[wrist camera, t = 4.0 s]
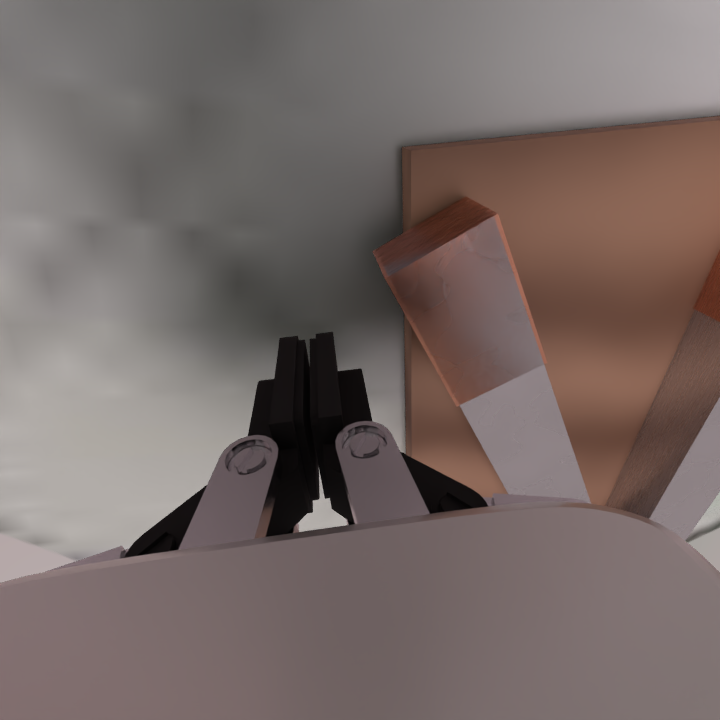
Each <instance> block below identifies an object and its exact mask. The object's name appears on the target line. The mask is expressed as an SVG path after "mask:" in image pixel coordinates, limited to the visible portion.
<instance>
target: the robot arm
mask: <svg viewBox="0 0 720 720" xmlns="http://www.w3.org/2000/svg"><path fill="white" fill-rule="evenodd" d="M319 470H320V475H321V480H322V485H323V491H324V496H325V498H330V501H331V506H332V509H333V510H334V511H336V512H337V513H339V514H340V515H341V516H343V517H344V518H346V520H347V525H346V526H339V527H332V528H325V529H318V530H311V531H304V532H299V524H298V522H299V521H300V520H301V519H302V518H303V517H304V516H305V515H306V514H307V513H312V512H313V500H318V499H319ZM0 720H720V572H719V571H718V570H717V569H716V568H715V567H714V566H713V565H712V564H711V563H710V562H708V561H707V560H706V559H705V558H704V557H703V556H702V555H701V554H700V553H699V552H698V551H697V550H695V549H694V548H693V547H692V546H691V545H690V544H689V543H687V542H686V541H685V540H683V539H682V538H681V537H680V536H678V535H677V534H676V533H674V532H672V531H671V530H669V529H668V528H666V527H665V526H663V525H661V524H659V523H657V522H655V521H653V520H651V519H649V518H646V517H643V516H640V515H637V514H634V513H631V512H628V511H624V510H621V509H616V508H611V507H606V506H601V505H596V504H589V503H587V502H585V501H582V500H578V499H573V498H559V497H544V496H529V495H513V494H498V493H493V495H492V498H490V497H482V496H481V495H480V494H479V493H477V492H476V491H474V490H473V489H471V488H469V487H467V486H465V485H464V484H462V483H460V482H458V481H456V480H454V479H452V478H450V477H448V476H446V475H444V474H442V473H440V472H438V471H436V470H435V469H433V468H431V467H429V466H427V465H425V464H423V463H421V462H419V461H417V460H415V459H413V458H411V457H409V456H408V455H406V454H404V453H402V452H400V450H399V448H398V446H397V444H396V442H395V440H394V438H393V436H392V434H391V433H390V431H389V430H388V429H387V428H386V427H385V426H383V425H382V424H379V423H376V422H372V418H371V413H370V408H369V403H368V398H367V393H366V388H365V383H364V378H363V374H362V369H353V370H345V371H338V370H337V362H336V354H335V345H334V337H333V332H328V333H320V334H316V338H315V339H310V366H309V360H308V355H307V349H306V343H305V340H299V339H298V336H293V337H285V338H280V340H279V348H278V356H277V364H276V371H275V379H271V380H262V381H259V382H258V385H257V390H256V396H255V401H254V406H253V412H252V417H251V422H250V428H249V433H248V436H247V437H244V438H241V439H238V440H237V441H235V442H233V443H232V444H230V445H229V446H228V447H227V448H226V449H225V450H224V451H223V453H222V454H221V456H220V458H219V460H218V462H217V464H216V467H215V469H214V471H213V473H212V476H211V478H210V480H209V482H208V485H206V486H205V487H204V488H202V489H201V490H200V491H199V492H197V493H196V494H195V495H193V496H192V497H191V498H190V499H188V500H187V501H186V502H184V503H183V504H182V505H180V506H179V507H178V508H177V509H175V510H174V511H173V512H171V513H170V514H169V515H168V516H166V517H165V518H164V519H162V520H161V521H160V522H158V523H157V524H156V525H155V526H153V527H152V528H151V529H149V530H148V531H147V532H146V533H144V534H143V535H142V536H141V537H140V538H139V539H138V540H136V541H135V542H134V543H133V545H132V546H131V547H130V548H129V549H126V550H125V549H124V548H123V547H122V546H120V547H117V548H114V549H111V550H108V551H105V552H102V553H99V554H96V555H93V556H90V557H87V558H84V559H81V560H78V561H76V562H73V563H70V564H67V565H64V566H61V567H58V568H55V569H52V570H49V571H46V572H43V573H39V574H33V575H28V576H24V577H21V578H17V579H13V580H9V581H5V582H2V583H0Z"/></svg>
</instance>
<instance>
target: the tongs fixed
mask: <svg viewBox="0 0 720 720" xmlns="http://www.w3.org/2000/svg"><path fill="white" fill-rule="evenodd" d="M693 309H695V310H694V313H693V315H692V317H691V319H690V321H689V324H688V326H687V328H686V330H685V332H684V335H683V337H682V339H681V341H680V343H679V345H678V348H677V350H676V352H675V354H674V356H673V359H672V361H671V363H670V365H669V367H668V370H667V372H666V374H665V376H664V378H663V380H662V383H661V385H660V387H659V389H658V391H657V394H656V396H655V398H654V400H653V402H652V405H651V407H650V409H649V411H648V413H647V415H646V418H645V420H644V422H643V424H642V426H641V429H640V431H639V433H638V435H637V437H636V440H635V442H634V444H633V446H632V448H631V450H630V453H629V455H628V457H627V459H626V461H625V464H624V466H623V468H622V470H621V472H620V475H619V477H618V479H617V481H616V483H615V485H614V488H613V490H612V492H611V494H610V496H609V499H608V501H607V503H606V505H605V506H606V507H611V508H616V509H621V510H624V511H628V512H631V513H634V514H637V515H640V516H643V517H646V518H649V519H651V520H653V521H655V522H657V523H659V524H661V525H663V526H665V527H666V528H668V529H669V530H671V531H672V532H674V533H676V534H677V535H678V536H680V537H681V538H682V539H683V540H686V539H687V537H688V536H689V534H690V533H691V532H692V530H693V529H694V527H695V526H696V524H697V523H698V522H699V520H700V519H701V517H702V516H703V515H704V513H705V512H706V510H707V509H708V507H709V506H710V505H711V503H712V502H713V500H714V499H715V497H716V496H717V495H718V493H719V492H720V250H719V252H718V254H717V257H716V259H715V261H714V263H713V265H712V268H711V270H710V272H709V274H708V276H707V279H706V281H705V283H704V285H703V287H702V290H701V292H700V294H699V296H698V299H697V301H696V303H695V305H694V307H693Z"/></svg>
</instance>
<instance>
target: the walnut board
mask: <svg viewBox="0 0 720 720" xmlns="http://www.w3.org/2000/svg"><path fill="white" fill-rule="evenodd" d="M402 190H403V233H404V232H406V231H408V230H409V229H411V228H413V227H414V226H416V225H418V224H419V223H421V222H423V221H424V220H426V219H428V218H429V217H431V216H433V215H435V214H436V213H438V212H440V211H441V210H443V209H445V208H446V207H448V206H450V205H451V204H453V203H455V202H456V201H458V200H460V199H461V198H463V197H465V196H466V197H468V198H470V199H472V200H474V201H476V202H478V203H479V204H481V205H483V206H485V207H487V208H489V209H491V210H492V211H494V212H496V213H498V215H499V218H500V221H501V224H502V227H503V230H504V233H505V236H506V239H507V242H508V245H509V248H510V251H511V254H512V257H513V260H514V263H515V266H516V269H517V272H518V275H519V279H520V282H521V285H522V288H523V291H524V294H525V297H526V300H527V303H528V306H529V309H530V312H531V315H532V318H533V321H534V324H535V327H536V330H537V333H538V336H539V339H540V342H541V345H542V348H543V351H544V354H545V357H546V360H547V363H546V364H544V365H545V368H546V371H547V374H548V377H549V380H550V383H551V386H552V389H553V392H554V395H555V398H556V401H557V404H558V407H559V410H560V413H561V416H562V419H563V422H564V425H565V428H566V431H567V433H568V436H569V439H570V442H571V445H572V448H573V451H574V454H575V457H576V460H577V463H578V466H579V469H580V472H581V475H582V478H583V481H584V484H585V487H586V490H587V493H588V496H589V499H590V502H591V504H596V505H601V506H605V505H606V503H607V501H608V499H609V496H610V494H611V492H612V490H613V488H614V485H615V483H616V481H617V479H618V477H619V475H620V472H621V470H622V468H623V466H624V464H625V461H626V459H627V457H628V455H629V453H630V450H631V448H632V446H633V444H634V442H635V440H636V437H637V435H638V433H639V431H640V429H641V426H642V424H643V422H644V420H645V418H646V415H647V413H648V411H649V409H650V407H651V405H652V402H653V400H654V398H655V396H656V394H657V391H658V389H659V387H660V385H661V383H662V380H663V378H664V376H665V374H666V372H667V370H668V367H669V365H670V363H671V361H672V359H673V356H674V354H675V352H676V350H677V348H678V345H679V343H680V341H681V339H682V337H683V335H684V332H685V330H686V328H687V326H688V324H689V321H690V319H691V317H692V315H693V313H694V310H695V309H693V307H694V305H695V303H696V301H697V299H698V296H699V294H700V292H701V290H702V287H703V285H704V283H705V281H706V279H707V276H708V274H709V272H710V270H711V268H712V265H713V263H714V261H715V259H716V257H717V254H718V252H719V250H720V116H713V117H703V118H692V119H682V120H672V121H662V122H652V123H642V124H631V125H621V126H611V127H601V128H591V129H580V130H570V131H560V132H550V133H540V134H529V135H519V136H509V137H499V138H489V139H479V140H468V141H458V142H448V143H438V144H428V145H417V146H407V147H402ZM404 340H405V415H406V455H408V456H409V457H411V458H413V459H415V460H417V461H419V462H421V463H423V464H425V465H427V466H429V467H431V468H433V469H435V470H436V471H438V472H440V473H442V474H444V475H446V476H448V477H450V478H452V479H454V480H456V481H458V482H460V483H462V484H464V485H465V486H467V487H469V488H471V489H473V490H474V491H476V492H477V493H479V494H480V495H481V496H482V497H490V498H492V495H493V493H498V494H508V493H507V491H506V489H505V487H504V485H503V483H502V482H501V480H500V478H499V476H498V474H497V473H496V471H495V469H494V467H493V465H492V464H491V462H490V460H489V458H488V456H487V454H486V453H485V451H484V449H483V447H482V445H481V444H480V442H479V440H478V438H477V436H476V435H475V433H474V431H473V429H472V427H471V425H470V424H469V422H468V420H467V418H466V416H465V415H464V413H463V411H462V409H461V407H460V405H459V406H457V407H456V405H455V403H454V401H453V400H452V398H451V396H450V394H449V392H448V391H447V389H446V387H445V385H444V383H443V382H442V380H441V378H440V376H439V375H438V373H437V371H436V369H435V367H434V366H433V364H432V362H431V360H430V358H429V357H428V355H427V353H426V351H425V349H424V348H423V346H422V344H421V342H420V341H419V339H418V337H417V335H416V333H415V332H414V330H413V328H412V326H411V324H410V323H409V321H408V319H407V317H406V316H405V314H404Z"/></svg>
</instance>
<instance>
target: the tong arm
mask: <svg viewBox="0 0 720 720" xmlns="http://www.w3.org/2000/svg"><path fill="white" fill-rule="evenodd" d="M373 254H374V256H375V258H376V260H377V262H378V265H379V267H380V269H381V271H382V273H383V276H384V278H385V280H386V282H387V283H388V285H389V287H390V289H391V291H392V292H393V294H394V296H395V298H396V299H397V301H398V303H399V305H400V307H401V308H402V310H403V312H404V314H405V316H406V317H407V319H408V321H409V323H410V324H411V326H412V328H413V330H414V332H415V333H416V335H417V337H418V339H419V341H420V342H421V344H422V346H423V348H424V349H425V351H426V353H427V355H428V357H429V358H430V360H431V362H432V364H433V366H434V367H435V369H436V371H437V373H438V375H439V376H440V378H441V380H442V382H443V383H444V385H445V387H446V389H447V391H448V392H449V394H450V396H451V398H452V400H453V401H454V403H455V405H456V407H457V406H459V405H460V407H461V409H462V411H463V413H464V415H465V416H466V418H467V420H468V422H469V424H470V425H471V427H472V429H473V431H474V433H475V435H476V436H477V438H478V440H479V442H480V444H481V445H482V447H483V449H484V451H485V453H486V454H487V456H488V458H489V460H490V462H491V464H492V465H493V467H494V469H495V471H496V473H497V474H498V476H499V478H500V480H501V482H502V483H503V485H504V487H505V489H506V491H507V493H508V494H513V495H529V496H544V497H559V498H573V499H578V500H582V501H585V502H587V503H589V504H591V502H590V499H589V496H588V493H587V490H586V487H585V484H584V481H583V478H582V475H581V472H580V469H579V466H578V463H577V460H576V457H575V454H574V451H573V448H572V445H571V442H570V439H569V436H568V433H567V431H566V428H565V425H564V422H563V419H562V416H561V413H560V410H559V407H558V404H557V401H556V398H555V395H554V392H553V389H552V386H551V383H550V380H549V377H548V374H547V371H546V368H545V365H544V364H546V363H547V360H546V357H545V354H544V351H543V348H542V345H541V342H540V339H539V336H538V333H537V330H536V327H535V324H534V321H533V318H532V315H531V312H530V309H529V306H528V303H527V300H526V297H525V294H524V291H523V288H522V285H521V282H520V279H519V275H518V272H517V269H516V266H515V263H514V260H513V257H512V254H511V251H510V248H509V245H508V242H507V239H506V236H505V233H504V230H503V227H502V224H501V221H500V218H499V215H498V213H496V212H494V211H492V210H491V209H489V208H487V207H485V206H483V205H481V204H479V203H478V202H476V201H474V200H472V199H470V198H468V197H466V196H465V197H463V198H461V199H460V200H458V201H456V202H455V203H453V204H451V205H450V206H448V207H446V208H445V209H443V210H441V211H440V212H438V213H436V214H435V215H433V216H431V217H429V218H428V219H426V220H424V221H423V222H421V223H419V224H418V225H416V226H414V227H413V228H411V229H409V230H408V231H406V232H404V233H403V234H401V235H399V236H397V237H396V238H394V239H392V240H391V241H389V242H387V243H386V244H384V245H382V246H381V247H379V248H377V249H376V250H374V251H373Z"/></svg>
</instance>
